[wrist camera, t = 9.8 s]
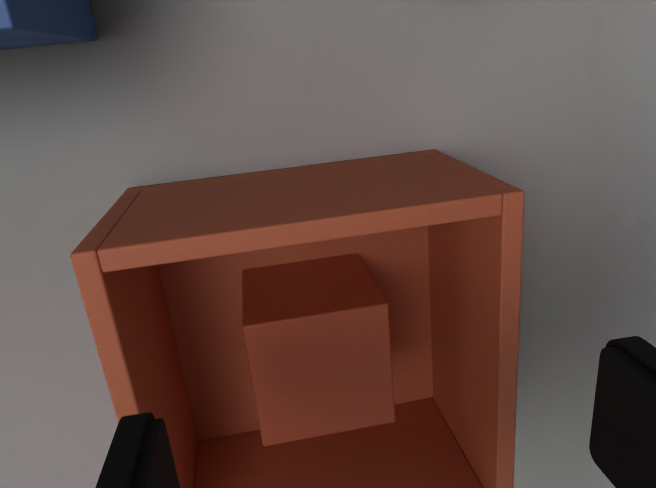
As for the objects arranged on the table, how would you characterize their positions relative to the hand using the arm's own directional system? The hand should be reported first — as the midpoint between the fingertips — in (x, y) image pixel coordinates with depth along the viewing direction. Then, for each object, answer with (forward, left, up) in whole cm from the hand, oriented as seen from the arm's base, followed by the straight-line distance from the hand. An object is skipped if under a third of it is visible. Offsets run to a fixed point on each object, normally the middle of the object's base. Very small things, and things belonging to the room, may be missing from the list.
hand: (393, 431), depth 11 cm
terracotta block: (+1, +2, -9) cm, 10 cm away
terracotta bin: (+1, +2, -10) cm, 10 cm away
